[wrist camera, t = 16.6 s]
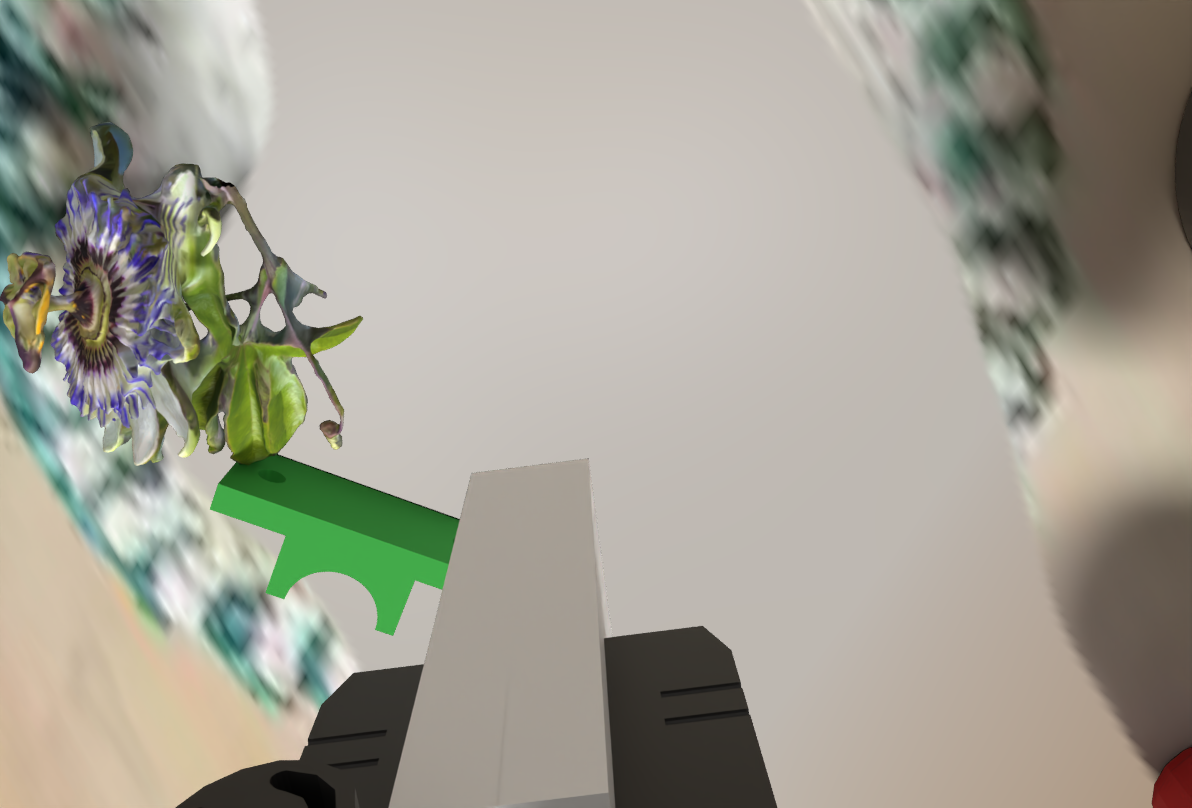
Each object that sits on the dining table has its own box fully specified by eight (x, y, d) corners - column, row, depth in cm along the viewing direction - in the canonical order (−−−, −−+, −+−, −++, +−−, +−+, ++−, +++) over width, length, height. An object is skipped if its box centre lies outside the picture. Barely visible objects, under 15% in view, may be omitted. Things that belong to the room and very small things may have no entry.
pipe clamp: (225, 520, 45) (188, 567, 40) (251, 443, 44) (216, 482, 39) (473, 607, 46) (463, 661, 42) (503, 534, 45) (496, 582, 41)
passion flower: (177, 249, 46) (-6, 88, 35) (413, 251, 45) (302, 84, 33) (123, 498, 43) (-99, 409, 32) (376, 510, 41) (238, 422, 30)
